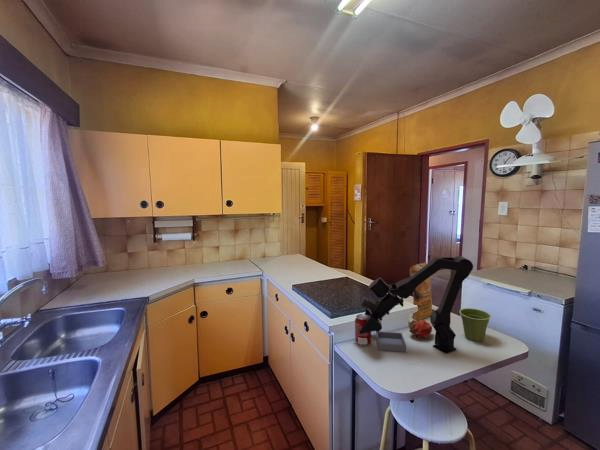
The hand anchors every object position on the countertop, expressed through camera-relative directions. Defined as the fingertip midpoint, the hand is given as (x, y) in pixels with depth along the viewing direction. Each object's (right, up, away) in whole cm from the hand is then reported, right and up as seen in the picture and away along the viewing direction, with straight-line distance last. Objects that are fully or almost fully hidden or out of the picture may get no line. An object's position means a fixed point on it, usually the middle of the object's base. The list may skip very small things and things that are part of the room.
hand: (359, 328), depth 121 cm
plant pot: (+51, -5, +1) cm, 51 cm away
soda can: (+2, -7, 0) cm, 7 cm away
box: (+13, -6, -2) cm, 14 cm away
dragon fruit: (+29, -6, +4) cm, 30 cm away
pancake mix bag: (+39, -3, +26) cm, 47 cm away
